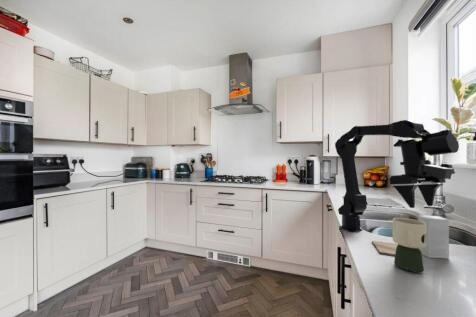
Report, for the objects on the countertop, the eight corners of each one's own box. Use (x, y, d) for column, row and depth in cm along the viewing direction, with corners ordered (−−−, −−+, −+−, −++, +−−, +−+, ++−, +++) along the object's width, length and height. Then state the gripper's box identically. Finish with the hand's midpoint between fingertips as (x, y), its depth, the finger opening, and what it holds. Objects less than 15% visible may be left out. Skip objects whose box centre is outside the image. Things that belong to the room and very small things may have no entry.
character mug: (429, 282, 50) (430, 228, 50) (393, 273, 54) (393, 223, 55) (422, 264, 59) (422, 218, 60) (391, 257, 63) (391, 214, 64)
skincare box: (437, 252, 67) (437, 215, 67) (449, 259, 63) (449, 219, 63) (417, 251, 68) (417, 214, 68) (427, 257, 64) (428, 218, 64)
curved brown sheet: (372, 242, 75) (372, 240, 75) (398, 245, 72) (398, 244, 72) (380, 253, 66) (380, 252, 66) (411, 258, 63) (411, 256, 63)
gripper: (425, 153, 57) (435, 211, 55) (462, 154, 64) (472, 206, 62) (384, 158, 67) (391, 208, 65) (420, 159, 74) (427, 204, 72)
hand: (421, 206), depth 66 cm, fingers open, 9 cm apart
